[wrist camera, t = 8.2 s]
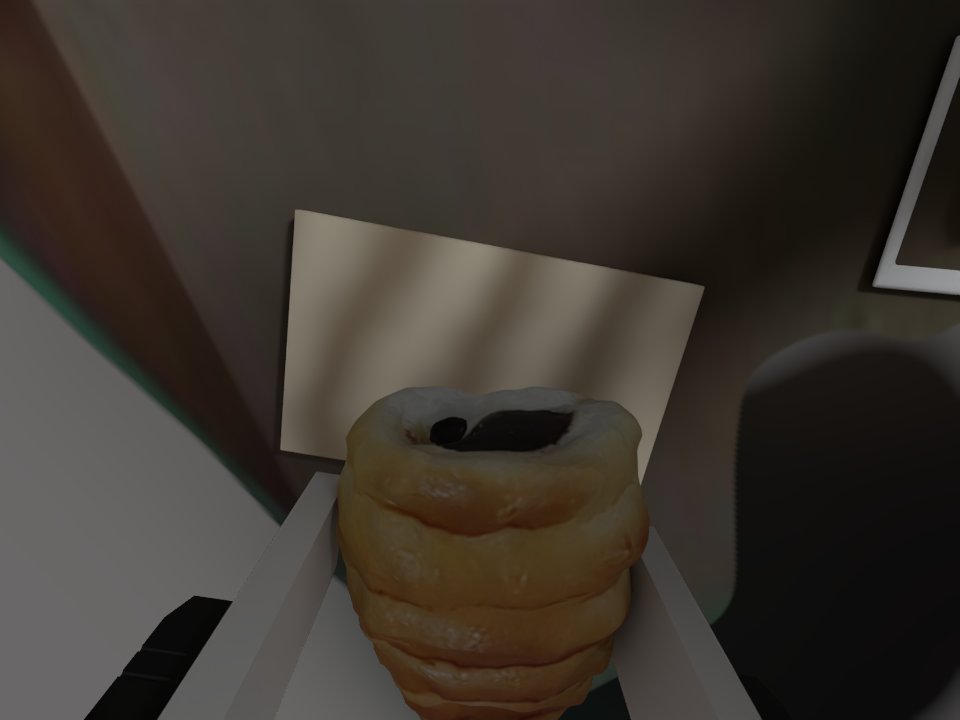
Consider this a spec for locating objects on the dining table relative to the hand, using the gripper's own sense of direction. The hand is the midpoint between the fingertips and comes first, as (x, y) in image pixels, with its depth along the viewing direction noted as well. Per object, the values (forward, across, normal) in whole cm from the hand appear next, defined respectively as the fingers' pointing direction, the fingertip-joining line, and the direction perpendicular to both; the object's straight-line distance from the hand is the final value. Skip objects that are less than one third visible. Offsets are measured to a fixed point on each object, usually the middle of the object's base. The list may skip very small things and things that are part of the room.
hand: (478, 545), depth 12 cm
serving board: (+16, 0, 0) cm, 16 cm away
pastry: (+1, 0, +1) cm, 1 cm away
